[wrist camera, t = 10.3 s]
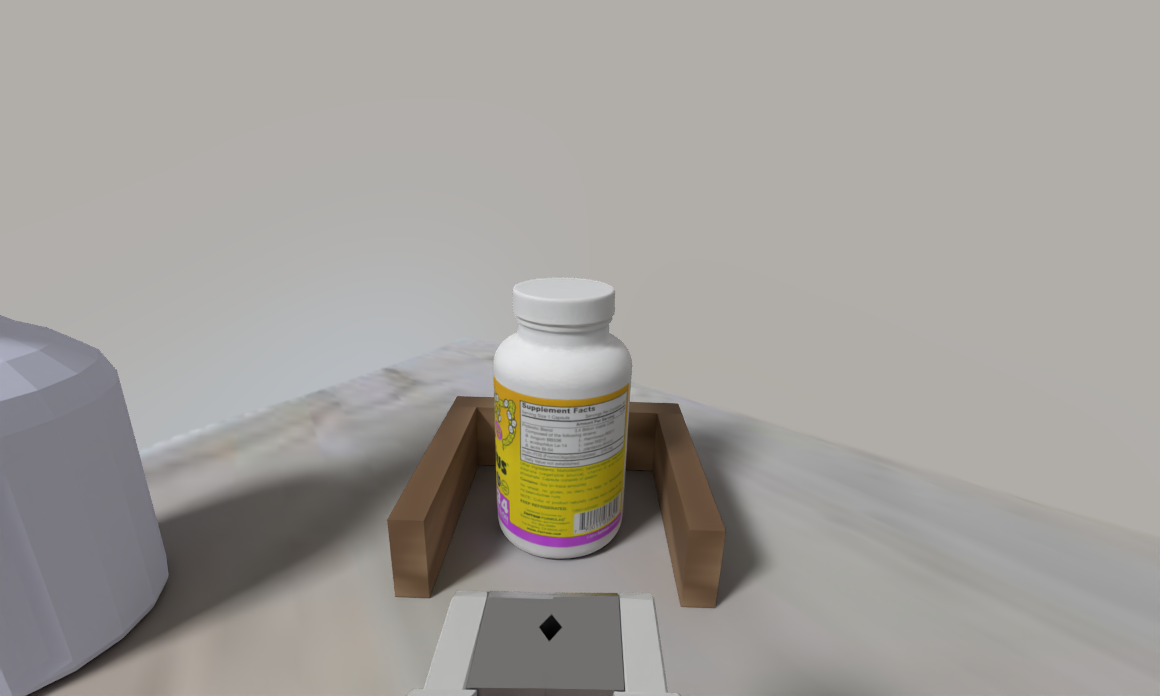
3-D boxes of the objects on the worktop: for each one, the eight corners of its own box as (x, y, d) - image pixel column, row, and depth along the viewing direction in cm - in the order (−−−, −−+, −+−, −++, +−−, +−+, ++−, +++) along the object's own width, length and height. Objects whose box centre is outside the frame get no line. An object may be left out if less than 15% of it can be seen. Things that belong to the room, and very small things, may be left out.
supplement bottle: (515, 481, 32) (513, 269, 28) (625, 493, 31) (640, 276, 27) (480, 557, 26) (470, 298, 22) (616, 574, 25) (633, 309, 21)
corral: (672, 459, 35) (678, 403, 34) (715, 607, 23) (725, 531, 22) (459, 452, 35) (457, 396, 34) (395, 596, 23) (387, 519, 22)
